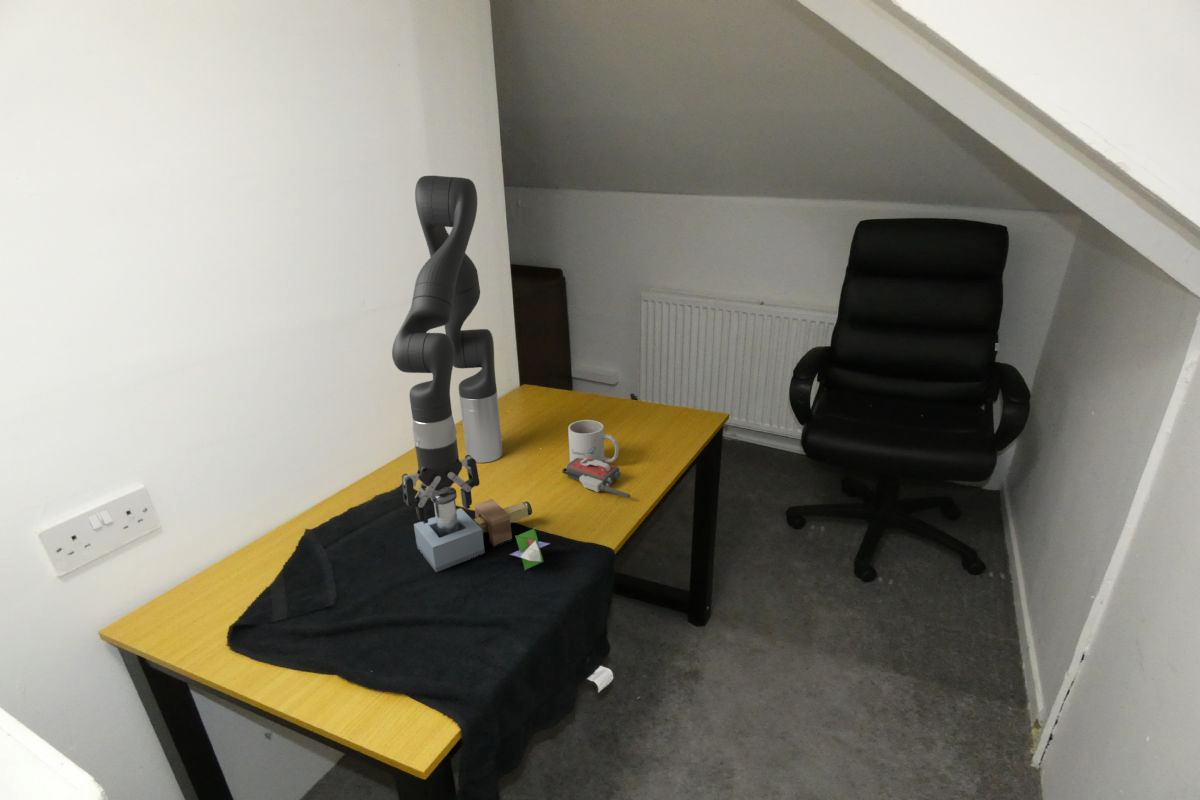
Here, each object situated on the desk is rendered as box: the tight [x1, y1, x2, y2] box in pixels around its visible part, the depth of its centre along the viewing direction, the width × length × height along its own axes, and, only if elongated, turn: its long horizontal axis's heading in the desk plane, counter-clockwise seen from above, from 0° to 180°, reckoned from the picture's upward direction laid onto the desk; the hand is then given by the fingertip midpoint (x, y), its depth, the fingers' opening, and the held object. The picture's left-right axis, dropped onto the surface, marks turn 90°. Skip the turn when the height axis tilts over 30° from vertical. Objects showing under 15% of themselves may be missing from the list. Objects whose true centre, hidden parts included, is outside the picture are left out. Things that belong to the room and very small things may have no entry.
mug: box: [567, 419, 620, 464], centre depth 160 cm, size 12×9×10 cm
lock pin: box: [473, 500, 533, 534], centre depth 135 cm, size 3×12×3 cm, turn 125°
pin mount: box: [473, 498, 513, 547], centre depth 134 cm, size 8×4×6 cm, turn 35°
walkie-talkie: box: [561, 458, 631, 499], centre depth 152 cm, size 9×4×20 cm
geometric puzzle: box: [508, 527, 551, 571], centre depth 124 cm, size 7×7×8 cm
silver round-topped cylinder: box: [430, 486, 459, 538], centre depth 127 cm, size 5×5×12 cm
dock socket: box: [413, 507, 486, 573], centre depth 129 cm, size 10×10×6 cm
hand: (445, 514), depth 127 cm, fingers open, 8 cm apart
